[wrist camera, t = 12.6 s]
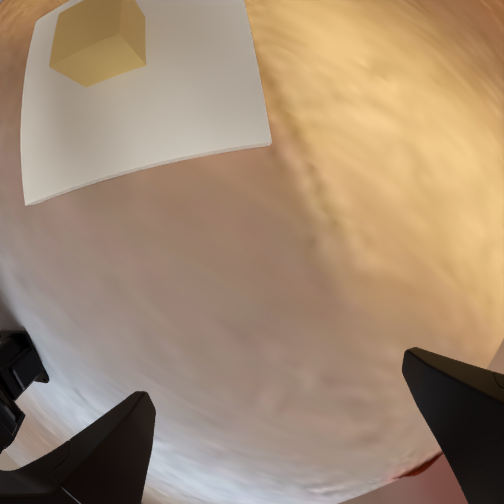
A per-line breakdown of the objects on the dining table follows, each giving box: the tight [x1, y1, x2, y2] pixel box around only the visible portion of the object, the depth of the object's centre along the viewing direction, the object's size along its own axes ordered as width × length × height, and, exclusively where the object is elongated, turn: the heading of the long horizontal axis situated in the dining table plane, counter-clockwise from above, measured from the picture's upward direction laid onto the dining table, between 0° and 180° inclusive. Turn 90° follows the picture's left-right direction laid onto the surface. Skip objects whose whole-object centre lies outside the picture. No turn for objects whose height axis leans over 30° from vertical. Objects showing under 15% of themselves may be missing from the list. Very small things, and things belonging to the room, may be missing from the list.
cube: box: [49, 0, 146, 88], centre depth 12 cm, size 5×5×5 cm
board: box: [21, 0, 272, 206], centre depth 15 cm, size 20×20×2 cm
